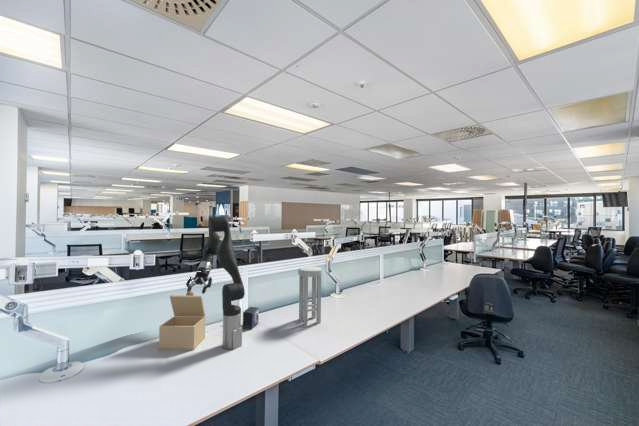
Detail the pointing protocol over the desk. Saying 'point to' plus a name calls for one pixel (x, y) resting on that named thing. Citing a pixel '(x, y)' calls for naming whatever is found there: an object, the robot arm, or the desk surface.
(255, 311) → the small box
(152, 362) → the desk surface
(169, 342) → the carton
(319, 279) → the stool
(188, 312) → the lid flap
